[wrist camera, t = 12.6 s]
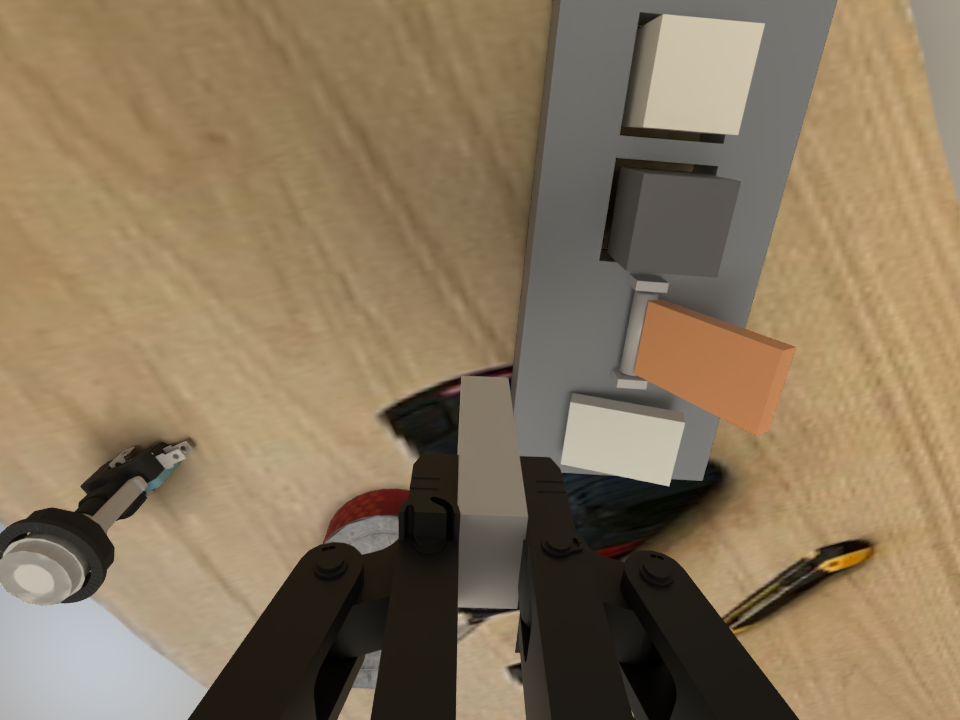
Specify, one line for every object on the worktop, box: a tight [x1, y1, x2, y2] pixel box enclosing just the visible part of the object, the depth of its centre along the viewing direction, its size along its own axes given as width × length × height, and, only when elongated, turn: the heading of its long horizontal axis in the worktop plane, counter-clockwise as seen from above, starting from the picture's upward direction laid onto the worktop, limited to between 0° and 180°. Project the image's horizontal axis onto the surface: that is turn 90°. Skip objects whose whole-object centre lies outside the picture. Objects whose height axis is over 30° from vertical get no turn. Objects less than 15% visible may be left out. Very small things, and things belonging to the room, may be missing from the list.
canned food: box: [323, 489, 409, 689], centre depth 37 cm, size 11×10×10 cm
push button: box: [0, 441, 193, 606], centre depth 32 cm, size 7×5×10 cm
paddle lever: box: [620, 291, 796, 436], centre depth 26 cm, size 4×1×8 cm
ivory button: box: [621, 14, 765, 135], centre depth 25 cm, size 4×4×4 cm
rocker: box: [561, 393, 685, 486], centre depth 31 cm, size 4×6×1 cm, turn 86°
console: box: [510, 0, 837, 481], centre depth 29 cm, size 26×12×4 cm, turn 176°
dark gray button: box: [607, 167, 741, 278], centre depth 26 cm, size 4×4×4 cm
